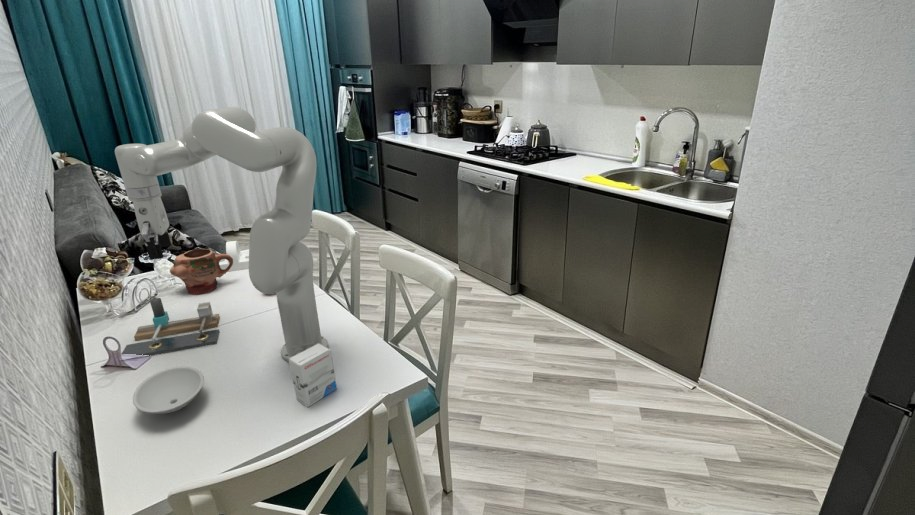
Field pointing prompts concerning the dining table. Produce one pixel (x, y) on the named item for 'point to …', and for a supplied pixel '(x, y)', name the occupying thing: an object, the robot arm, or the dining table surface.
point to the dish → (168, 390)
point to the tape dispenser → (235, 258)
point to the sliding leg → (158, 316)
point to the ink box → (313, 374)
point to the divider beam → (182, 324)
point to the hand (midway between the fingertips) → (161, 252)
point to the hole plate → (173, 343)
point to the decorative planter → (200, 269)
